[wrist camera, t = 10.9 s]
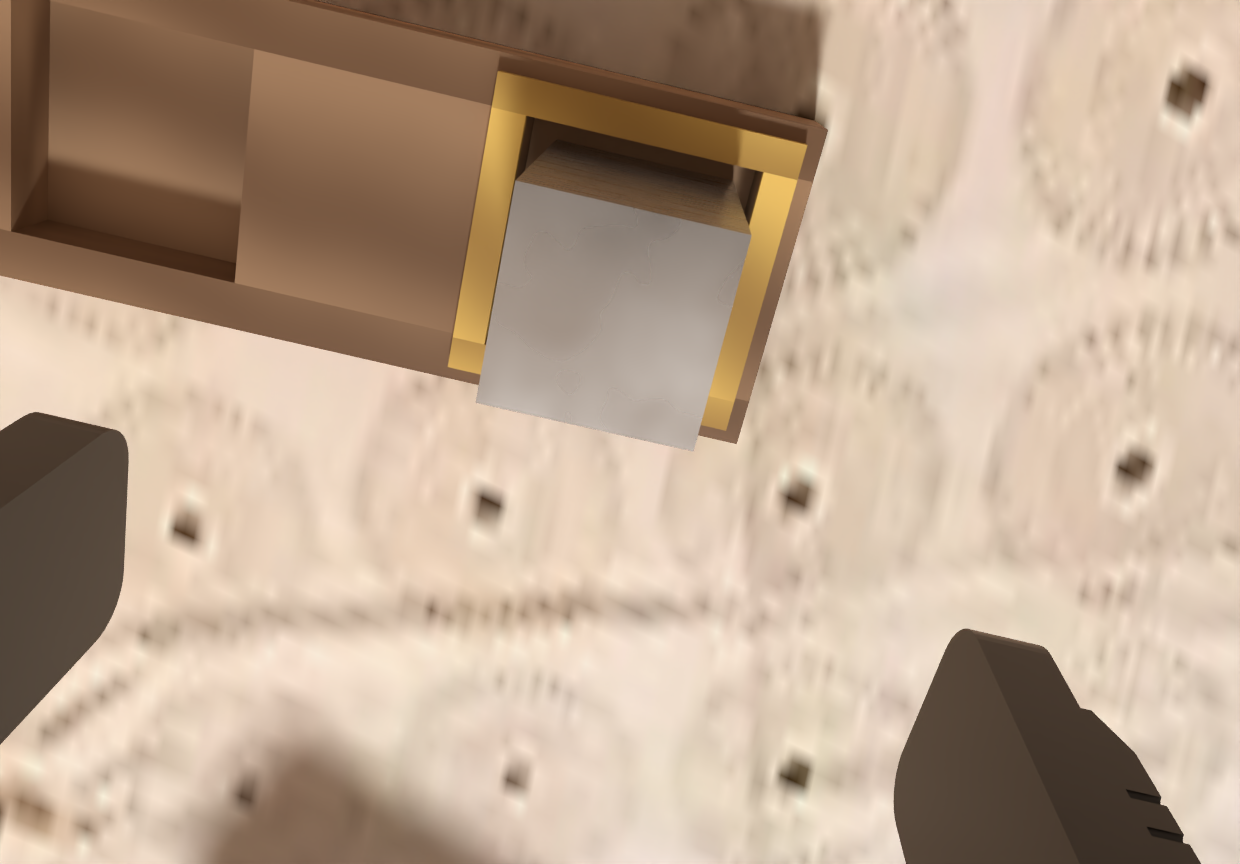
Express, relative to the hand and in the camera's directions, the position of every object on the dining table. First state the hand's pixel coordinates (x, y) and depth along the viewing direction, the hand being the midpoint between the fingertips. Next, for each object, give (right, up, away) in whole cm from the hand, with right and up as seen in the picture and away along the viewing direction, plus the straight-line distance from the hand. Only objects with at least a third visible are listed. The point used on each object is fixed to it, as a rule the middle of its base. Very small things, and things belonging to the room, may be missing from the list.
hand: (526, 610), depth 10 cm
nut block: (+1, +6, +17) cm, 18 cm away
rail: (-5, +8, +17) cm, 20 cm away
